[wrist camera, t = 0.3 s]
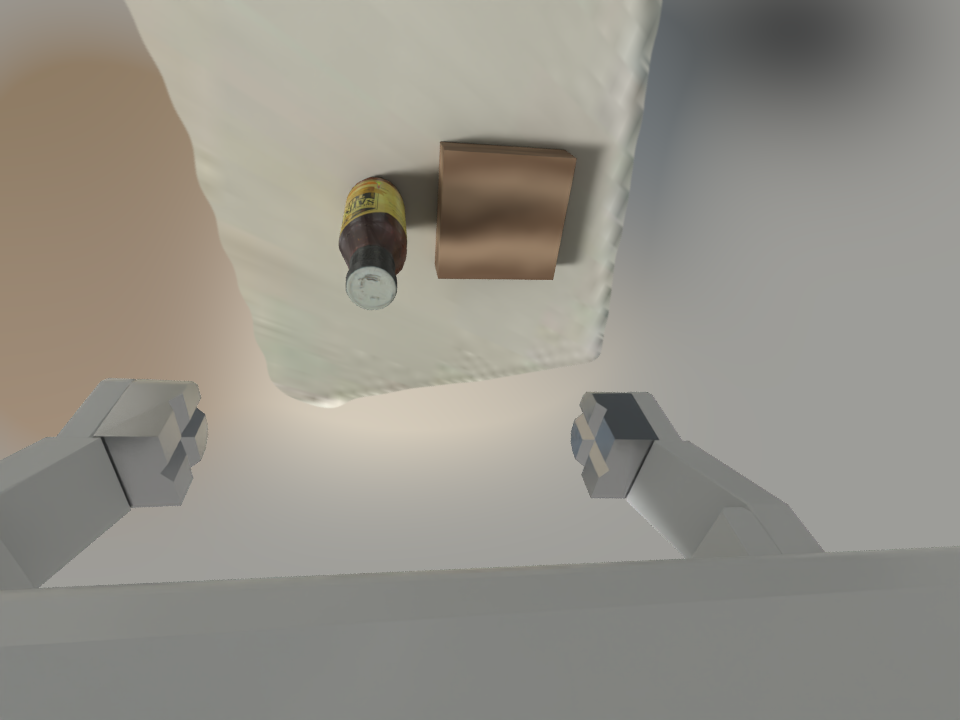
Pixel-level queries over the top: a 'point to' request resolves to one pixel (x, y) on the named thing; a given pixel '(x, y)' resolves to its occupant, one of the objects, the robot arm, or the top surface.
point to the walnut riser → (500, 211)
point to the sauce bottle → (373, 242)
